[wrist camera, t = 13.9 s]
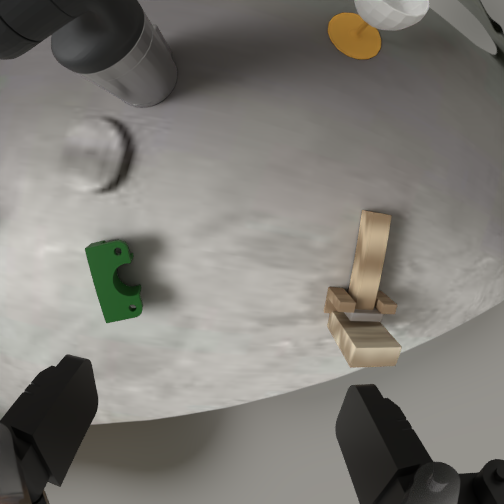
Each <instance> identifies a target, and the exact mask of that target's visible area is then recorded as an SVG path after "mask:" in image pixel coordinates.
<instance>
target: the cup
mask: <svg viewBox="0 0 504 504" xmlns="http://www.w3.org/2000/svg"><path fill="white" fill-rule="evenodd" d="M354 2H355V7H356V9H357V12H358V14H359V15H357V14H354V13H340V14H338V15H336V16H334V17H333V18H332V19H331V21H330V22H329V25H328V34H329V37H330V39H331V41H332V43H333V44H334V45H335V46H336V48H337V49H338V50H340V51H341V52H343V53H344V54H345V55H347V56H349V57H352V58H355V59H370V58H372V57H374V56H376V55H377V53H378V52H379V50H380V49H381V38H380V35H379V32H378V30H377V29H380V30H393V31H397V30H401V29H404V28H407V27H409V26H412V25H414V24H415V23H417V22H419V21H420V20H421V19H422V18H423V17H424V16H425V14H426V13H427V11H428V9H429V0H354ZM376 28H377V29H376Z"/></svg>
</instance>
